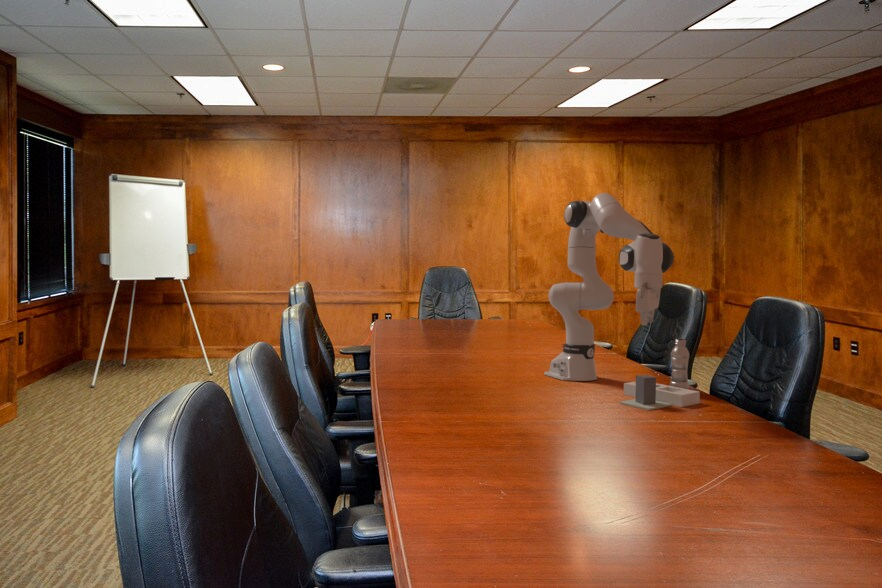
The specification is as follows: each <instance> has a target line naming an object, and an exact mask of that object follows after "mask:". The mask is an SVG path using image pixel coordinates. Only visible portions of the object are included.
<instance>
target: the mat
mask: <svg viewBox="0 0 882 588" xmlns="http://www.w3.org/2000/svg"><path fill="white" fill-rule="evenodd" d="M619 405H624V406H629V407H632V408H637V409H641V410H646V411H652V410H658V409H662V408H669V407H671V406H673V405H672V404H669V403H665V402H660V401H656V404H649V405H643V404H640V403H638V402H635V398H633V399H628V400H623V401H622V400H621V401H619Z"/></svg>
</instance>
